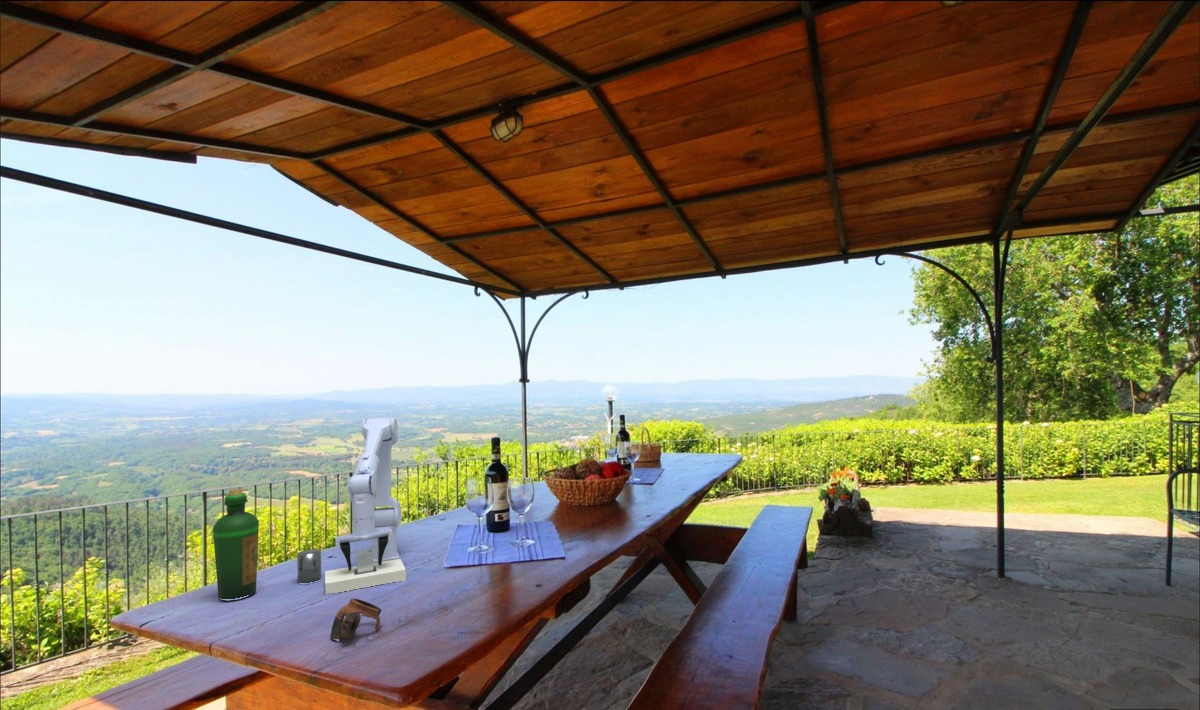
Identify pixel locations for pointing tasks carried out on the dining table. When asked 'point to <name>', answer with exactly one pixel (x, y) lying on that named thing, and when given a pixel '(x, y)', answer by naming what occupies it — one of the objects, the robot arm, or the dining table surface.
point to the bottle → (236, 548)
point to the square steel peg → (364, 561)
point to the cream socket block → (364, 576)
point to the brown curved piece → (353, 618)
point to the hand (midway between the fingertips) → (365, 567)
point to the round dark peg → (309, 565)
